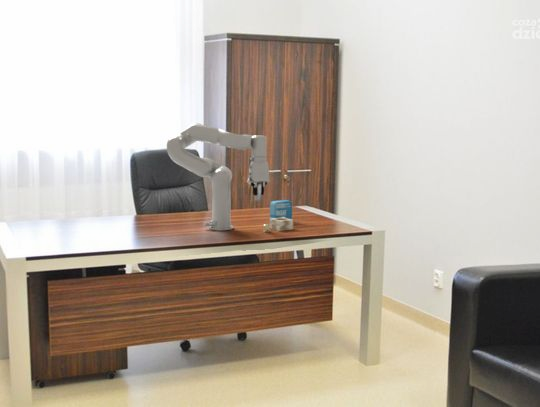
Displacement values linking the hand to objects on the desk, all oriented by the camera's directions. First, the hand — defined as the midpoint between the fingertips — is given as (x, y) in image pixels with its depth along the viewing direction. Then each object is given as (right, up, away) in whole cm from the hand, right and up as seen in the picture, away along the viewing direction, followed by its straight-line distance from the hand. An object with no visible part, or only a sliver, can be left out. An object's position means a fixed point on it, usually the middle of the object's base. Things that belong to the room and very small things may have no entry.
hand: (258, 194), depth 373 cm
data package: (+12, -15, +23) cm, 30 cm away
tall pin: (0, -3, 0) cm, 3 cm away
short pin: (+4, -19, -4) cm, 20 cm away
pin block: (+12, -18, +6) cm, 22 cm away
